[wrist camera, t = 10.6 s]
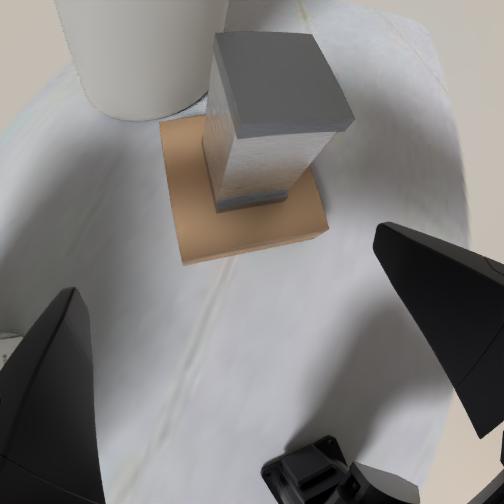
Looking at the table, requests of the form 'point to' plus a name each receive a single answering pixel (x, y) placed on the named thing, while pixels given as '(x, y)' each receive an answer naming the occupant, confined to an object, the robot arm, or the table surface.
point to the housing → (267, 115)
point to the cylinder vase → (142, 52)
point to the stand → (232, 222)
